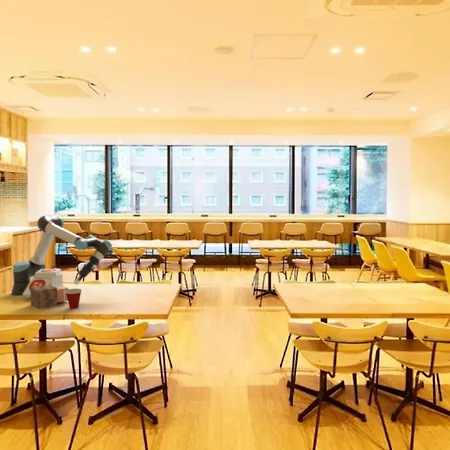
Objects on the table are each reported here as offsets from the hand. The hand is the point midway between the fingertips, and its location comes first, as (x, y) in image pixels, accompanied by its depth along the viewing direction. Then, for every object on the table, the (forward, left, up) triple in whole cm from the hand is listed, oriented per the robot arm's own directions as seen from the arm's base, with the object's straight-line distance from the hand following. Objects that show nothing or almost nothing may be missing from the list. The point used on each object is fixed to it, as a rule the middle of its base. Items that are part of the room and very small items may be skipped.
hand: (75, 283), depth 319 cm
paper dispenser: (-31, +3, -12) cm, 33 cm away
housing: (-10, -20, -12) cm, 25 cm away
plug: (-6, -12, -10) cm, 17 cm away
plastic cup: (+14, -18, -12) cm, 26 cm away
